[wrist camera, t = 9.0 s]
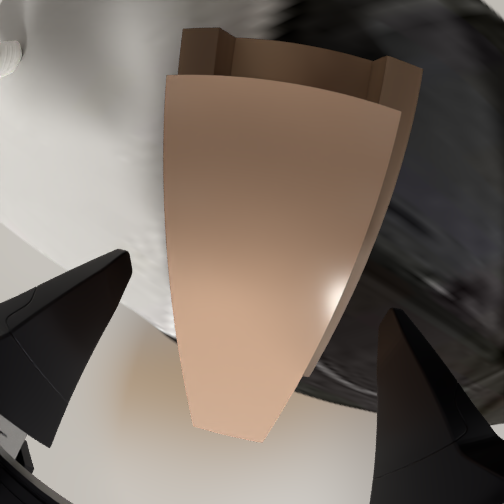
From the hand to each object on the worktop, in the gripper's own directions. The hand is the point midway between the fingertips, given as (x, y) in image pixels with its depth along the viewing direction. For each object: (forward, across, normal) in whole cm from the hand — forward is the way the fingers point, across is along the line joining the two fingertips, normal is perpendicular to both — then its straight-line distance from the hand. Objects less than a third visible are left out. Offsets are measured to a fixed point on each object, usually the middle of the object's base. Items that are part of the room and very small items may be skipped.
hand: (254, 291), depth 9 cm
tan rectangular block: (+4, 0, 0) cm, 4 cm away
